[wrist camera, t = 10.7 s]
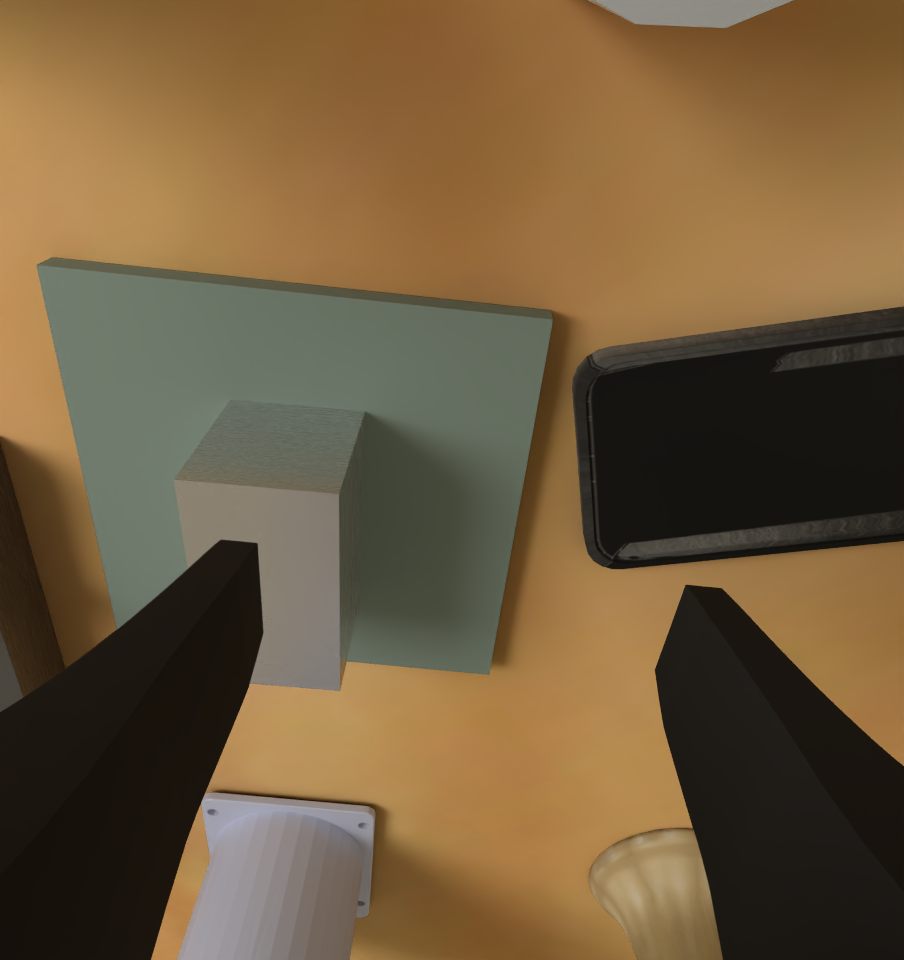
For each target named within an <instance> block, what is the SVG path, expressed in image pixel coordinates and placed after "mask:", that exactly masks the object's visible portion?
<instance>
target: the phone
mask: <svg viewBox="0 0 904 960" xmlns="http://www.w3.org/2000/svg"><path fill="white" fill-rule="evenodd" d="M572 392H573V405H574V408H575V410H574V418H575V432H576V445H577V458H578V472H579V485H580V498H581V512H582V525H583V535H584V539H585V544H586V548H587V551H588V554H589V556H590V557H591V558H592V559H593V561H595V562H596V563H598V564H599V565H601V566H603V567H607V568H610V569H628V568H638V567H648V566H658V565H668V564H678V563H688V562H698V561H708V560H718V559H728V558H738V557H748V556H758V555H768V554H778V553H788V552H798V551H808V550H818V549H828V548H838V547H848V546H858V545H868V544H878V543H888V542H898V541H904V307H897V308H890V309H883V310H875V311H868V312H861V313H853V314H846V315H839V316H831V317H824V318H817V319H809V320H802V321H795V322H787V323H780V324H773V325H765V326H758V327H751V328H743V329H736V330H729V331H721V332H714V333H707V334H699V335H692V336H685V337H677V338H670V339H663V340H655V341H648V342H641V343H633V344H626V345H619V346H611V347H607V348H604V349H600V350H597V351H595V352H594V353H592V354H591V355H589V356H587V357H586V358H585V359H584V360H583V362H582V363H581V364H580V365H579V366H578V368H577V370H576V372H575V375H574V377H573V386H572Z"/></svg>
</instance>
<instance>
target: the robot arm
mask: <svg viewBox="0 0 904 960" xmlns="http://www.w3.org/2000/svg"><path fill="white" fill-rule="evenodd" d="M263 633H264V631H263V616H262V601H261V586H260V571H259V556H258V543H253V542H243V541H232V540H222V539H221V540H220V541H218V542H217V543H216V544H214V545H213V546H212V547H211V548H210V549H209V550H208V551H207V552H205V553H204V554H203V555H202V556H201V557H200V558H199V559H198V560H197V561H196V562H194V563H193V564H192V565H191V566H190V567H189V568H188V569H187V570H186V571H185V572H183V573H182V574H181V575H180V576H179V577H178V578H177V579H176V580H175V581H173V582H172V583H171V584H170V585H169V586H168V587H167V588H166V589H164V590H163V591H162V592H161V593H160V594H159V595H158V596H156V597H155V598H154V599H153V600H152V601H150V602H149V603H148V604H147V605H146V606H145V607H143V608H142V609H141V610H140V611H139V612H138V613H136V614H135V615H134V616H133V617H132V618H130V619H129V620H128V621H127V622H126V623H124V624H123V625H122V626H121V627H120V628H118V629H117V630H116V631H114V632H113V633H112V634H111V635H109V636H108V637H107V638H105V639H104V640H103V641H101V642H100V643H99V644H98V645H96V646H95V647H94V648H92V649H91V650H90V651H89V652H87V653H86V654H85V655H83V656H82V657H81V658H80V659H78V660H77V661H75V662H74V663H73V664H71V665H70V666H69V667H67V668H66V669H64V670H63V671H62V672H60V673H59V674H57V675H56V676H55V677H53V678H52V679H50V680H49V681H47V682H46V683H44V684H43V685H42V686H40V687H38V688H37V689H35V690H34V691H32V692H31V693H29V694H28V695H26V696H25V697H23V698H22V699H20V700H19V701H17V702H16V703H14V704H12V705H11V706H9V707H8V708H6V709H4V710H3V711H1V712H0V960H151V957H152V954H153V951H154V947H155V944H156V940H157V937H158V933H159V930H160V927H161V923H162V920H163V916H164V913H165V909H166V906H167V903H168V899H169V896H170V893H171V890H172V886H173V883H174V880H175V877H176V873H177V870H178V867H179V864H180V860H181V857H182V854H183V851H184V848H185V844H186V841H187V838H188V836H189V833H190V830H191V828H192V825H193V822H194V819H195V817H196V814H197V811H198V809H199V807H200V804H201V802H202V810H203V816H204V823H205V829H206V835H207V841H208V847H209V854H210V861H209V864H208V867H207V870H206V873H205V876H204V879H203V882H202V885H201V889H200V892H199V895H198V898H197V901H196V904H195V907H194V910H193V913H192V916H191V919H190V922H189V925H188V928H187V931H186V934H185V937H184V940H183V943H182V946H181V949H180V952H179V955H178V958H177V960H350V955H351V948H352V941H353V934H354V927H355V920H356V918H363V917H366V916H367V915H368V914H369V908H370V894H371V879H372V863H373V848H374V832H375V817H376V813H375V810H374V809H373V808H371V807H369V806H361V805H350V804H339V803H328V802H317V801H306V800H294V799H283V798H272V797H261V796H250V795H239V794H227V793H216V792H210V793H207V794H206V795H204V794H205V792H206V790H207V787H208V785H209V782H210V780H211V778H212V775H213V773H214V770H215V768H216V766H217V763H218V761H219V758H220V756H221V754H222V751H223V749H224V746H225V744H226V742H227V739H228V737H229V734H230V732H231V730H232V727H233V725H234V722H235V720H236V717H237V715H238V712H239V710H240V708H241V705H242V703H243V700H244V698H245V695H246V693H247V690H248V688H249V684H250V681H251V677H252V674H253V670H254V667H255V663H256V659H257V656H258V652H259V648H260V644H261V641H262V637H263ZM655 674H656V681H657V688H658V695H659V702H660V708H661V714H662V720H663V725H664V729H665V733H666V737H667V740H668V744H669V747H670V751H671V754H672V758H673V761H674V765H675V768H676V772H677V775H678V779H679V782H680V785H681V789H682V792H683V796H684V799H685V802H686V806H687V809H688V813H689V816H690V819H691V823H692V826H693V830H694V833H695V836H696V840H697V843H698V847H699V850H700V853H701V857H702V861H703V865H704V869H705V873H706V877H707V881H708V885H709V889H710V894H711V899H712V905H713V910H714V915H715V920H716V925H717V931H718V936H719V941H720V946H721V952H722V957H723V960H904V766H903V765H902V764H900V763H899V762H898V761H897V760H895V759H894V758H893V757H892V756H891V755H890V754H888V753H887V752H886V751H885V750H884V749H883V748H882V747H880V746H879V745H878V744H877V743H876V742H875V741H874V740H872V739H871V738H870V737H869V736H868V735H867V734H866V733H865V732H864V731H863V730H862V729H861V728H859V727H858V726H857V725H856V724H855V723H854V722H853V721H852V720H851V719H850V718H849V717H848V716H846V715H845V714H844V713H843V712H842V711H841V710H840V709H839V708H838V707H837V706H836V705H835V704H834V703H833V702H832V701H831V700H830V699H829V698H828V697H827V696H826V695H825V694H823V693H822V692H821V691H820V690H819V689H818V688H817V687H816V686H815V685H814V684H813V683H812V682H811V681H810V680H809V679H808V678H807V677H806V676H805V675H804V674H803V673H802V671H801V670H800V669H799V668H798V667H797V666H796V665H795V664H794V663H793V662H792V661H791V660H790V659H789V658H788V657H787V656H786V655H785V654H784V653H783V652H782V651H781V650H780V649H779V648H778V647H777V646H776V644H775V643H774V642H773V641H772V640H771V639H770V638H769V637H768V636H767V635H766V634H765V633H764V632H763V631H762V630H761V629H760V628H759V626H758V625H757V624H756V623H755V622H754V621H753V620H752V619H751V618H750V617H749V616H748V615H747V614H746V613H745V612H744V611H743V609H742V608H741V607H740V606H739V605H738V604H737V603H736V602H735V601H734V600H733V599H732V598H731V597H730V596H729V595H728V594H727V593H726V592H725V591H724V590H723V589H722V588H714V587H703V586H693V585H686V586H685V588H684V591H683V594H682V597H681V599H680V602H679V605H678V608H677V610H676V613H675V616H674V619H673V622H672V624H671V627H670V630H669V633H668V635H667V638H666V641H665V644H664V646H663V649H662V652H661V655H660V657H659V660H658V663H657V666H656V668H655ZM203 797H204V798H203ZM202 799H203V800H202Z"/></svg>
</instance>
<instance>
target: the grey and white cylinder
mask: <svg viewBox="0 0 904 960" xmlns="http://www.w3.org/2000/svg"><path fill="white" fill-rule="evenodd" d="M588 1H590V2H592V3H594V4H596V5H598V6H600V7H602V8H604V9H606V10H608V11H610V12H612V13H614V14H616V15H618V16H620V17H622V18H624V19H626V20H628V21H630V22H632V23H634V24H643V25H666V26H690V27H713V28H727V27H729V26H732V25H734V24H737V23H739V22H742V21H744V20H747V19H749V18H751V17H754V16H756V15H759V14H761V13H764V12H766V11H769V10H771V9H774V8H776V7H778V6H781V5H783V4H786V3H788V2H791V1H793V0H588Z"/></svg>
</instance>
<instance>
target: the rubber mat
mask: <svg viewBox="0 0 904 960" xmlns="http://www.w3.org/2000/svg"><path fill="white" fill-rule="evenodd" d="M37 270H38V274H39V279H40V283H41V288H42V292H43V297H44V301H45V306H46V311H47V315H48V320H49V324H50V329H51V333H52V338H53V342H54V347H55V351H56V356H57V360H58V365H59V369H60V374H61V378H62V383H63V388H64V392H65V397H66V401H67V406H68V410H69V415H70V419H71V424H72V428H73V433H74V437H75V442H76V446H77V451H78V455H79V460H80V465H81V469H82V474H83V478H84V483H85V487H86V492H87V496H88V501H89V505H90V510H91V514H92V519H93V523H94V528H95V532H96V537H97V542H98V546H99V551H100V555H101V560H102V564H103V569H104V573H105V578H106V582H107V587H108V591H109V596H110V600H111V605H112V609H113V614H114V619H115V623H116V628H117V629H118V628H120V627H121V626H122V625H123V624H124V623H126V622H127V621H128V620H129V619H130V618H132V617H133V616H134V615H135V614H136V613H138V612H139V611H140V610H141V609H142V608H143V607H145V606H146V605H147V604H148V603H149V602H150V601H152V600H153V599H154V598H155V597H156V596H158V595H159V594H160V593H161V592H162V591H163V590H164V589H166V588H167V587H168V586H169V585H170V584H171V583H172V582H173V581H175V580H176V579H177V578H178V577H179V576H180V575H181V574H182V573H183V572H185V571H186V570H187V562H186V556H185V549H184V543H183V537H182V530H181V524H180V517H179V511H178V504H177V498H176V492H175V485H174V478H175V477H176V476H177V474H178V473H179V471H180V470H181V468H182V467H183V466H184V464H185V463H186V461H187V460H188V459H189V457H190V456H191V454H192V453H193V452H194V450H195V449H196V447H197V446H198V444H199V443H200V442H201V440H202V439H203V437H204V436H205V435H206V433H207V432H208V430H209V429H210V427H211V426H212V425H213V423H214V422H215V420H216V419H217V418H218V416H219V415H220V413H221V412H222V411H223V409H224V408H225V406H226V405H227V403H228V402H229V401H230V399H233V400H245V401H256V402H267V403H278V404H289V405H301V406H312V407H323V408H334V409H345V410H357V411H365V446H364V504H363V563H362V592H361V597H360V602H359V606H358V611H357V615H356V620H355V625H354V629H353V634H352V638H351V643H350V648H349V652H348V657H347V661H349V662H360V663H370V664H381V665H392V666H402V667H413V668H423V669H434V670H445V671H455V672H466V673H477V674H487V675H489V673H490V667H491V662H492V656H493V650H494V645H495V639H496V634H497V628H498V623H499V617H500V612H501V606H502V600H503V595H504V589H505V584H506V578H507V573H508V567H509V562H510V556H511V551H512V545H513V539H514V534H515V528H516V523H517V517H518V512H519V506H520V501H521V495H522V490H523V484H524V478H525V473H526V467H527V462H528V456H529V451H530V445H531V440H532V434H533V428H534V423H535V417H536V412H537V406H538V401H539V395H540V390H541V384H542V379H543V373H544V367H545V362H546V356H547V351H548V345H549V340H550V334H551V329H552V323H553V317H552V314H551V310H543V309H534V308H524V307H515V306H506V305H496V304H487V303H477V302H468V301H459V300H449V299H440V298H430V297H421V296H411V295H402V294H393V293H383V292H374V291H364V290H355V289H345V288H336V287H327V286H317V285H308V284H298V283H289V282H280V281H270V280H261V279H251V278H242V277H232V276H223V275H214V274H204V273H195V272H185V271H176V270H166V269H157V268H148V267H138V266H129V265H119V264H110V263H101V262H91V261H82V260H72V259H63V258H53V257H52V258H50V259H48V260H46V261H44V262H42V263H40V264H38V265H37Z"/></svg>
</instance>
